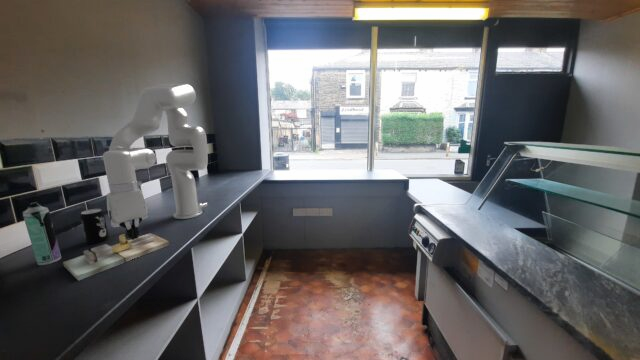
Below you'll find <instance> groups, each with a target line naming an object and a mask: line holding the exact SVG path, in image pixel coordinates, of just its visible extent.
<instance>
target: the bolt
mask: <svg viewBox="0 0 640 360" xmlns="http://www.w3.org/2000/svg"><path fill="white" fill-rule="evenodd" d="M118 240H119V243H120V244H119V243H116V244H117V245H116V244H113V245H114V246H113V245H110V246H111V247H112V251H113V254H114V253H117V252H120V251H123V250H125V249H128V248H131V242H129V241H128V237H127V233H123V234H120V235H118ZM91 253H92V252H91ZM92 254H93V258H94V260H97V258H96V254H95V253H92Z"/></svg>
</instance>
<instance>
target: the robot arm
mask: <svg viewBox="0 0 640 360" xmlns="http://www.w3.org/2000/svg"><path fill="white" fill-rule="evenodd" d="M196 95H197V94H196V91H195V88H193V86H192V85H190V84H188V83H164V84H157V85H154V86H152V87H145V88H143V89H142V90H141V91H140V94H139V97H138V100H137V103H136V107H135V109H134V114H133V117H132V119H131V120H130V121H129V122H128V123H126V124H125V125H124V126H123V127H122V128H120V129H119V130H118V131H117V132H116V133H115V134H114V136H113V137H112V139H111V142H110V145H109V147H108V151H105V152H104V153H102V159H103V164H104V170H105V173H106V178H107V179H106V180H107V185H108V188H109V192H108V193H107V194H106V207H107V208H106V209H107V215H108V220H109V221H110V227H112V228H119V227H121V228H124V229H125V232H126V237H127V239H128V238H129V240H131V239H132V240H134V239H135V238H136V239H137V238H138V237H139V236H140V232H139V226H140V224H141V223H142V221H143V220H146V219H147V218H148V217H149V215H148V207H147V204H146V199H145V197H144V195H143V192H142V190H141V188H140V187H139V186H141V185H142V184H143V182H142V181H141V180H137V175H136V170H142V169H149V168H151V167H153V166H154V164H155V163H156V161H157V155H156V153H155V152H154V151H153V150H152V149H150V148H148V147H147V148H146V147H132V145H133V144H134V143H135V142H136V141H138V140H139V139H141V138H143V137H144V136H148V135H150V134H152V133H155V132H156V131H157V130H158V129H159V128H160V125H161V121H162V117H163V114H164V112H165V115H166V119H167V132H168V133H167V135H168V140H169V144H170V145H172V147H175V148H176V147H178V148H186V147H188V148H193V149H176V150H171V151H169V152H168V153H167V154H166V157H165V162H166V165H167V168H168V170H169V173H170V179H171V183H172V189H173V190H172V191H173V195H174V196H173V198H174V203H175V210H176V211H175V212H174V213H173V215H172V216H173V219H176V220H188V219H192V218H196V217H199V216H201V215H202V214H203V210H202V209H203V208H205V207H208V202H203V203H202V202H199V203H198V195H197V187H196V186H197V185H196V179H195V177H194V174H193V173H192V172H191V171H203V170H205V169H206V168H207V167H208V163H209V156H208V152H209V151H208V140H207V133H206V131H205V129H204V128H203V127H201V126H199V125H190V123H189V115H188V112H187V111H186V110H185V109H184V108H186V107H188V106H191V105H193V104H194V103H195V102H196V98H197V96H196ZM130 221H131V223H130Z"/></svg>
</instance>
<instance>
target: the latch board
mask: <svg viewBox="0 0 640 360" xmlns="http://www.w3.org/2000/svg"><path fill="white" fill-rule="evenodd" d="M127 241H129V242H131V248H128V249H125V250H123V251H120V252H117V253H114V254H113V251H112V247H111V246H114V245H117V244H120V242H119V243H116V244H113V245H109V244H107V243H105V244H102V245H98V246H95V247H92V248H90V250H91V251H89V250H88V249H86V250H83V255H80V256H76V257H74V258H72V259H71V258H70V259H69V260H68V259H67V260H66V261H63V262H62V264H63V267H64V268H65V269H66V270H67V271H68V272H69V273H70V274H71V275H72V276H73V277H74V278H75V279H76V280H77V281H78V282H79V281H81V280H85V279H86V278H89V277H92V276H94V275H97V274H99V273H101V272H105V271H107V270H109V269H112V268H114V267H117V266H120V265H122V264H125V263H127V262H129V261H132V259H133V260H135V259H137V257H138V258H140V257H143V256H145V255H148V254H150V253H152V252H155V251H157V250H158V251H159V250H160V249H162V248H165V247H166V248H167V247H168V246H170V242H169V240H166V239H165V238H162V237H160V236H158V235H156V234H155V233H154V234H153V233H151V232H149V233H147V234H143V235H139V236H138V238H137V239H136V238H135V239H134V240H132V239H127ZM92 253H95V254H96V258H97V260H94V258H93V254H92ZM134 258H135V259H134Z"/></svg>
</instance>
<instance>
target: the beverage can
mask: <svg viewBox="0 0 640 360" xmlns="http://www.w3.org/2000/svg"><path fill="white" fill-rule="evenodd" d="M80 214H81V215H80V221H81V227H82V230H83V233H84V238H85V242H86V243H88V244H90V245H93V244H99V243H102V242H105V241H107V240H108V238H109V237H110V236H109V231H108V226H107V222H106V217H105V212H104V211H102V208H91V209H87V210H83V211H81V213H80Z"/></svg>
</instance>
